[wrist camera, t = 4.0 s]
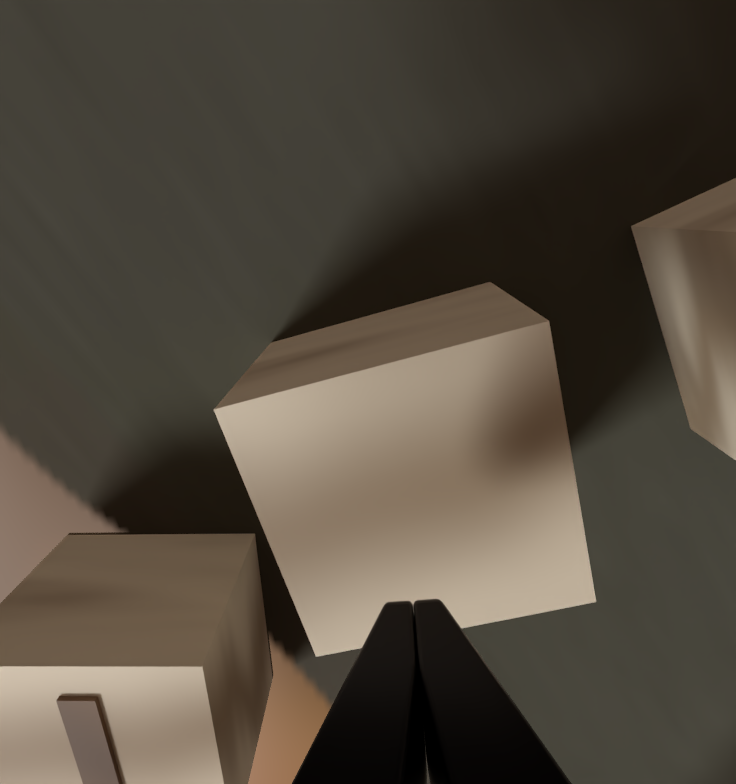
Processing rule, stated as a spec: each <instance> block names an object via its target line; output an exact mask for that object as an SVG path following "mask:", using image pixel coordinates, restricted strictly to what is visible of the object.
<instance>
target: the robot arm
mask: <svg viewBox="0 0 736 784" xmlns="http://www.w3.org/2000/svg"><path fill="white" fill-rule="evenodd" d="M413 609H414V611H413ZM423 725H424V726H423ZM424 736H425V738H424ZM425 746H426V750H425ZM426 756H427V765H428V773H429V779H430V784H571V782H570V781H569V779H568V778H567V777H566V775H565V774H564V772H563V771H562V770H561V768H560V767H559V765H558V764H557V762H556V761H555V760H554V758H553V757H552V755H551V754H550V753H549V751H548V750H547V748H546V747H545V746H544V744H543V743H542V741H541V740H540V739H539V737H538V736H537V734H536V733H535V731H534V730H533V729H532V727H531V726H530V724H529V723H528V722H527V720H526V719H525V717H524V716H523V715H522V713H521V712H520V710H519V709H518V708H517V706H516V705H515V703H514V702H513V700H512V699H511V698H510V696H509V695H508V693H507V692H506V691H505V689H504V688H503V686H502V685H501V684H500V682H499V681H498V679H497V678H496V677H495V675H494V674H493V672H492V671H491V669H490V668H489V667H488V665H487V664H486V662H485V661H484V660H483V658H482V657H481V655H480V654H479V653H478V651H477V650H476V648H475V647H474V645H473V644H472V643H471V641H470V640H469V638H468V637H467V636H466V634H465V633H464V631H463V630H462V629H461V627H460V626H459V624H458V623H457V622H456V620H455V619H454V617H453V616H452V614H451V613H450V612H449V610H448V609H447V607H446V606H445V605H444V603H443V602H442V601H441V600H439V599H425V600H416V601H415V602H414V604H412V603H411V602H410V601H394V602H387V603H385V604H384V606H383V608H382V610H381V612H380V613H379V615H378V617H377V619H376V621H375V623H374V625H373V627H372V629H371V631H370V633H369V635H368V637H367V639H366V641H365V643H364V645H363V646H362V648H361V650H360V652H359V654H358V656H357V658H356V660H355V662H354V664H353V666H352V668H351V670H350V672H349V674H348V676H347V678H346V679H345V681H344V683H343V685H342V687H341V689H340V691H339V693H338V695H337V697H336V699H335V701H334V703H333V705H332V707H331V709H330V711H329V713H328V714H327V716H326V719H325V720H324V723H323V724H322V726H321V728H320V730H319V732H318V734H317V736H316V738H315V740H314V742H313V744H312V746H311V748H310V750H309V751H308V754H307V755H306V757H305V759H304V761H303V763H302V765H301V767H300V769H299V771H298V773H297V775H296V777H295V779H294V780H293V782H292V784H427V769H426Z"/></svg>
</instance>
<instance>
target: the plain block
mask: <svg viewBox="0 0 736 784" xmlns="http://www.w3.org/2000/svg"><path fill="white" fill-rule="evenodd" d="M214 412H215V414H216V417H217V419H218V421H219V424H220V426H221V429H222V431H223V434H224V436H225V438H226V441H227V443H228V446H229V448H230V450H231V453H232V455H233V458H234V460H235V462H236V465H237V467H238V470H239V472H240V475H241V477H242V479H243V482H244V484H245V487H246V489H247V491H248V494H249V496H250V499H251V501H252V503H253V506H254V508H255V511H256V513H257V516H258V518H259V520H260V523H261V525H262V528H263V530H264V532H265V535H266V537H267V540H268V542H269V544H270V547H271V549H272V552H273V554H274V556H275V559H276V561H277V564H278V566H279V569H280V571H281V573H282V576H283V578H284V581H285V583H286V585H287V588H288V590H289V593H290V595H291V597H292V600H293V602H294V605H295V607H296V610H297V612H298V614H299V617H300V619H301V622H302V624H303V626H304V629H305V631H306V634H307V636H308V638H309V641H310V643H311V646H312V648H313V651H314V653H315V655H316V657H318V656H323V655H328V654H333V653H339V652H344V651H349V650H354V649H359V648H362V646H363V645H364V643H365V641H366V639H367V637H368V635H369V633H370V631H371V629H372V627H373V625H374V623H375V621H376V619H377V617H378V615H379V613H380V612H381V610H382V608H383V606H384V604H385V603H387V602H394V601H410V602H411V603H412V604H414V602H415V601H416V600H425V599H439V600H441V601H442V602H443V603H444V605H445V606H446V607H447V609H448V610H449V612H450V613H451V614H452V616H453V617H454V619H455V620H456V622H457V623H458V624H459V626H460V627H461V628H466V627H471V626H476V625H481V624H486V623H491V622H496V621H502V620H507V619H512V618H517V617H522V616H527V615H532V614H537V613H542V612H547V611H552V610H558V609H563V608H568V607H573V606H578V605H583V604H588V603H593V602H596V598H595V592H594V586H593V580H592V574H591V568H590V562H589V556H588V550H587V544H586V538H585V532H584V526H583V520H582V514H581V508H580V502H579V496H578V490H577V484H576V479H575V473H574V467H573V461H572V455H571V449H570V443H569V437H568V431H567V425H566V419H565V413H564V407H563V401H562V395H561V389H560V383H559V377H558V371H557V365H556V359H555V353H554V347H553V341H552V335H551V329H550V323H549V320H547V319H546V318H544V317H543V316H541V315H540V314H538V313H536V312H535V311H533V310H532V309H530V308H529V307H527V306H526V305H524V304H523V303H521V302H520V301H518V300H517V299H515V298H514V297H512V296H511V295H509V294H508V293H506V292H505V291H503V290H502V289H500V288H499V287H497V286H496V285H494V284H493V283H491V282H488V283H484V284H480V285H477V286H473V287H470V288H466V289H462V290H459V291H455V292H452V293H448V294H444V295H441V296H437V297H434V298H430V299H426V300H423V301H419V302H416V303H412V304H408V305H405V306H401V307H398V308H394V309H390V310H387V311H383V312H380V313H376V314H372V315H369V316H365V317H362V318H358V319H354V320H351V321H347V322H344V323H340V324H336V325H333V326H329V327H326V328H322V329H318V330H315V331H311V332H308V333H304V334H300V335H297V336H293V337H290V338H286V339H282V340H279V341H275V342H272V343H270V344H269V345H268V347H267V348H266V349H265V350H264V351H263V352H262V354H261V355H260V356H259V357H258V358H257V359H256V361H255V362H254V363H253V364H252V365H251V366H250V368H249V369H248V370H247V371H246V372H245V373H244V375H243V376H242V377H241V378H240V379H239V380H238V382H237V383H236V384H235V385H234V386H233V387H232V389H231V390H230V391H229V392H228V393H227V394H226V396H225V397H224V398H223V399H222V400H221V401H220V403H219V404H218V405H217V406H216V407H215V408H214ZM413 611H414V609H413Z"/></svg>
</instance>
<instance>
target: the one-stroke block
mask: <svg viewBox="0 0 736 784" xmlns="http://www.w3.org/2000/svg"><path fill="white" fill-rule="evenodd" d="M272 678H273V667H272V659H271V651H270V643H269V639H268V636H267V627H266V619H265V611H264V603H263V595H262V587H261V579H260V571H259V563H258V554H257V546H256V538H255V534H136V535H125V534H123V533H121V532H108V533H69V534H68V535H67V536H66V537H65V538H64V539H63V540H62V541H61V542H60V543H59V544H58V545H57V546H56V547H55V548H54V549H53V550H52V551H51V552H50V553H49V554H48V555H47V556H46V557H45V558H44V559H43V560H42V561H41V562H40V563H39V564H38V565H37V566H36V567H35V568H34V569H33V571H32V572H31V573H30V574H29V575H28V576H27V577H26V578H25V579H24V580H23V581H22V582H21V583H20V584H19V585H18V586H17V587H16V588H15V589H14V590H13V591H12V592H11V593H10V594H9V595H8V596H7V597H6V599H4V600H3V601H2V602H1V604H0V784H248V780H249V776H250V772H251V768H252V763H253V759H254V755H255V751H256V747H257V742H258V738H259V734H260V729H261V725H262V721H263V717H264V712H265V708H266V704H267V700H268V696H269V691H270V687H271V683H272Z"/></svg>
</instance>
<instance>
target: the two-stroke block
mask: <svg viewBox="0 0 736 784" xmlns="http://www.w3.org/2000/svg"><path fill="white" fill-rule="evenodd" d="M631 228H632V232H633V235H634V239H635V242H636V245H637V249H638V252H639V255H640V259H641V262H642V266H643V269H644V272H645V276H646V279H647V282H648V286H649V289H650V293H651V296H652V299H653V303H654V306H655V309H656V313H657V316H658V320H659V323H660V326H661V330H662V333H663V337H664V340H665V343H666V347H667V350H668V353H669V357H670V360H671V364H672V367H673V370H674V374H675V377H676V380H677V384H678V387H679V391H680V394H681V397H682V401H683V404H684V407H685V411H686V414H687V418H688V421H689V424H690V428H691V429H692V430H693V431H695V432H696V433H697V434H699V435H700V436H702V437H703V438H705V439H706V440H707V441H709V442H710V443H712V444H713V445H715V446H716V447H717V448H719V449H720V450H722V451H723V452H724V453H726V454H727V455H729V456H730V457H732V458H733V459H734V460H736V178H734V179H732V180H730V181H728V182H726V183H724V184H721V185H719V186H717V187H715V188H713V189H711V190H708V191H706V192H704V193H702V194H700V195H697V196H695V197H693V198H691V199H689V200H687V201H684V202H682V203H680V204H678V205H676V206H674V207H671V208H669V209H667V210H665V211H663V212H661V213H658V214H656V215H654V216H652V217H650V218H648V219H645V220H643V221H641V222H639V223H637V224H635V225H632V226H631Z"/></svg>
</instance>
